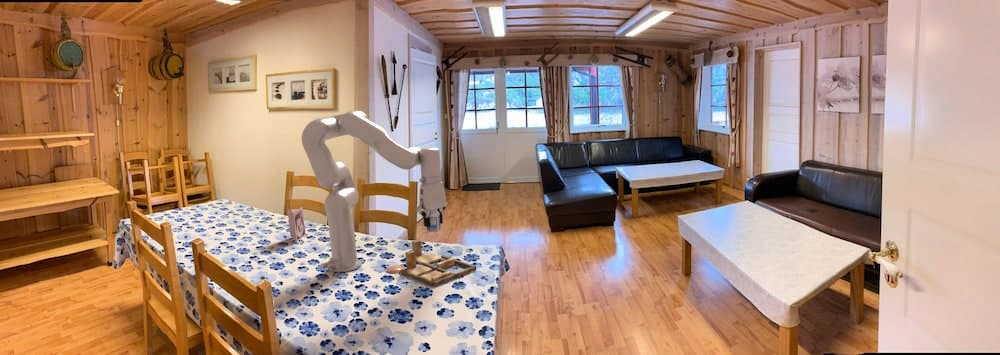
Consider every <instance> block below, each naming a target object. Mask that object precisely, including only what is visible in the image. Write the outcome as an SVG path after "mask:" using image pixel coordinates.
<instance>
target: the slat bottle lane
mask: <svg viewBox="0 0 1000 355" xmlns="http://www.w3.org/2000/svg"><path fill="white" fill-rule="evenodd" d="M411 248H412V249H411V250H412V251H415V255H416V263H418V264H420V265H422V262H425V263H428V264H430V265H433V266H436V267H439V268H441V269H444V270H445V269H446V268H449V267H451V266H455V265H456V264H455V258H453V257H450V258H451V259H448V260H446V259H443V258H441V256H440V257H439V256H436V255H434V254H430V253H427V252H426V253H423V251H422V250H423V248H422V240H420V239H414V240H412V241H411ZM439 261H440V262H439ZM436 262H437V263H436ZM434 263H436V265H434Z"/></svg>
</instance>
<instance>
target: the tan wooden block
mask: <svg viewBox="0 0 1000 355" xmlns="http://www.w3.org/2000/svg"><path fill="white" fill-rule="evenodd" d="M404 253H405V267H406V268H405V269H406V271H408V272H411V273H413V274H416V275H418V276H422V275H425V274H427V273H430V272H433V269H431V268H429V267H426V266H423V265H422V264H419V265H417V262H416V255H415V251H412V249H411V250H408V251H406V252H404Z"/></svg>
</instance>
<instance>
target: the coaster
mask: <svg viewBox="0 0 1000 355" xmlns="http://www.w3.org/2000/svg"><path fill="white" fill-rule="evenodd" d="M402 269H403V270H405V269H406V268H405V266H404V265H403V266H402V265H392V266H389V267H387V268H386V272H387V273H388V274H399V273H400V274H401V270H402Z"/></svg>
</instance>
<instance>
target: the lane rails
mask: <svg viewBox="0 0 1000 355" xmlns="http://www.w3.org/2000/svg"><path fill="white" fill-rule="evenodd" d="M440 258H443V259H446V260H448V259H451V258H452V257H450V256H446V255H441V256H440ZM454 259H455V258H454ZM421 265H423V266H426V267H429V268H431V269H433V271H431V272H428V273H426V274H423V275H420V276H418V275H416V274H413V273H411V272H408V271H406V270H407V269H406V270H403V269H402V270H401V272H400V275H403V276H405V277H408V278H411V279H413V280H415V281H418V282H420V283H422V284H425V285H427V286H429V287H432V288H435V287H437V286H440V285H442V284H444V283H447V282H450V281H453V280H455V279H457V278H461V277H462V276H465V275H467V274H470V273H473V272H474V271H475V272H476V271H477V266H476V265H474V264H470V263H468V262H464V261H462V260H458V259H455V265H457V266H460V267H462V268H465V269H462V270H460V271H458V272H453V271H449V270H447V269H445V268H444V269H441V268H439V267H436V266H437V265H434V264H432V265H430V264H428V263H425V262H422V264H421ZM433 265H434V266H433Z"/></svg>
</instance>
